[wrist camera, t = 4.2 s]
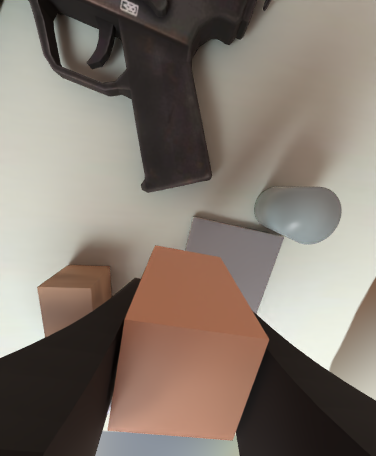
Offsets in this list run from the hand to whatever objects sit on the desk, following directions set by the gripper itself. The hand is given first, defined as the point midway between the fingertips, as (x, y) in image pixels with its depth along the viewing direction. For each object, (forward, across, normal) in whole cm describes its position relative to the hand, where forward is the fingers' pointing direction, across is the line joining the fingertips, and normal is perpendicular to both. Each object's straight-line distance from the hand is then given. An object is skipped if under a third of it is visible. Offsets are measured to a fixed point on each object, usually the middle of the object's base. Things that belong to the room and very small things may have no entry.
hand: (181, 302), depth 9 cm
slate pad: (+8, -5, +1) cm, 10 cm away
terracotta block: (+2, 0, 0) cm, 2 cm away
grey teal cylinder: (+8, -8, -6) cm, 13 cm away
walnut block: (+9, +8, +6) cm, 13 cm away
